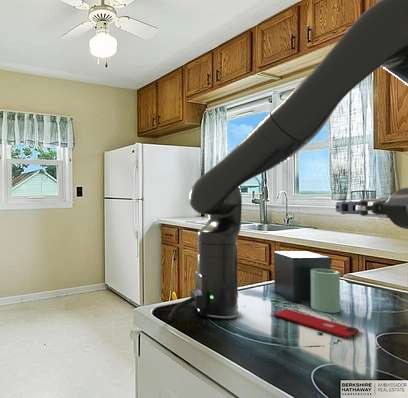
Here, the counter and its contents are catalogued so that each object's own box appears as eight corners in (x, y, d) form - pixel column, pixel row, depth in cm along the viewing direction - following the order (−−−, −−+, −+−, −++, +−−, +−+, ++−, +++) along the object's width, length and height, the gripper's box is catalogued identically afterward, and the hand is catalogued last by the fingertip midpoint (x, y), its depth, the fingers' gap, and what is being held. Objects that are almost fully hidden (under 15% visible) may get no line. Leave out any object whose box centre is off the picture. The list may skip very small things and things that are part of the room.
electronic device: (273, 315, 76) (347, 338, 63) (273, 313, 76) (347, 335, 63) (286, 310, 79) (359, 331, 66) (286, 308, 79) (359, 329, 66)
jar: (320, 312, 78) (320, 273, 78) (305, 304, 84) (305, 268, 84) (345, 312, 78) (345, 273, 78) (328, 304, 84) (328, 268, 84)
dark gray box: (293, 302, 86) (293, 257, 86) (274, 291, 96) (274, 251, 96) (337, 302, 86) (336, 257, 86) (313, 291, 96) (313, 251, 96)
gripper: (473, 186, 54) (389, 189, 70) (388, 186, 54) (324, 189, 70) (474, 230, 54) (390, 223, 70) (388, 231, 54) (324, 224, 70)
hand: (357, 206), depth 70 cm, fingers open, 8 cm apart
